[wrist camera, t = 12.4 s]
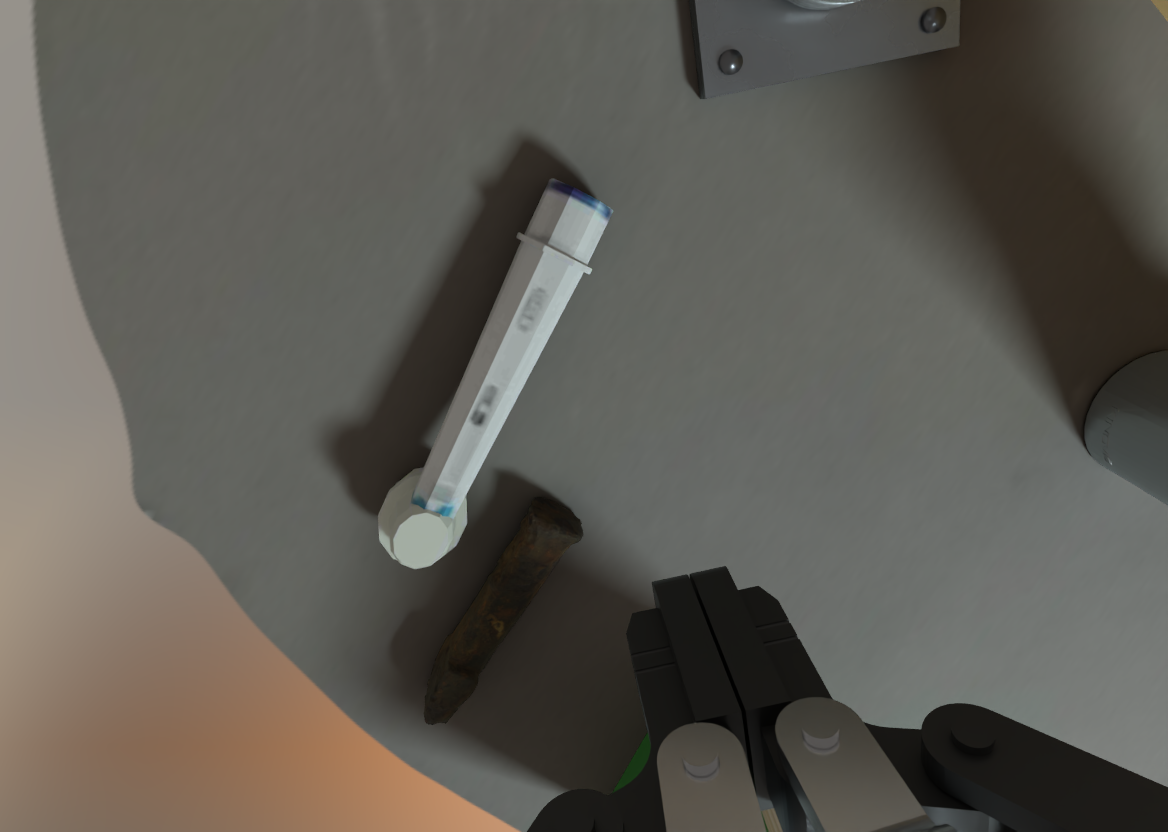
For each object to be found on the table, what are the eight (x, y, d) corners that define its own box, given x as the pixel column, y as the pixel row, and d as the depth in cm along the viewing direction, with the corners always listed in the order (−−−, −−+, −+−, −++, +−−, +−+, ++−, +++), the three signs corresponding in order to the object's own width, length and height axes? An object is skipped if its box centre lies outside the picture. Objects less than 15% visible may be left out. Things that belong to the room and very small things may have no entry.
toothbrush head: (631, 217, 38) (440, 609, 43) (607, 215, 44) (442, 556, 49) (542, 170, 37) (354, 580, 41) (530, 175, 43) (368, 530, 47)
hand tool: (533, 484, 48) (536, 521, 44) (582, 511, 50) (589, 549, 45) (396, 675, 54) (386, 724, 49) (443, 695, 55) (438, 745, 51)
